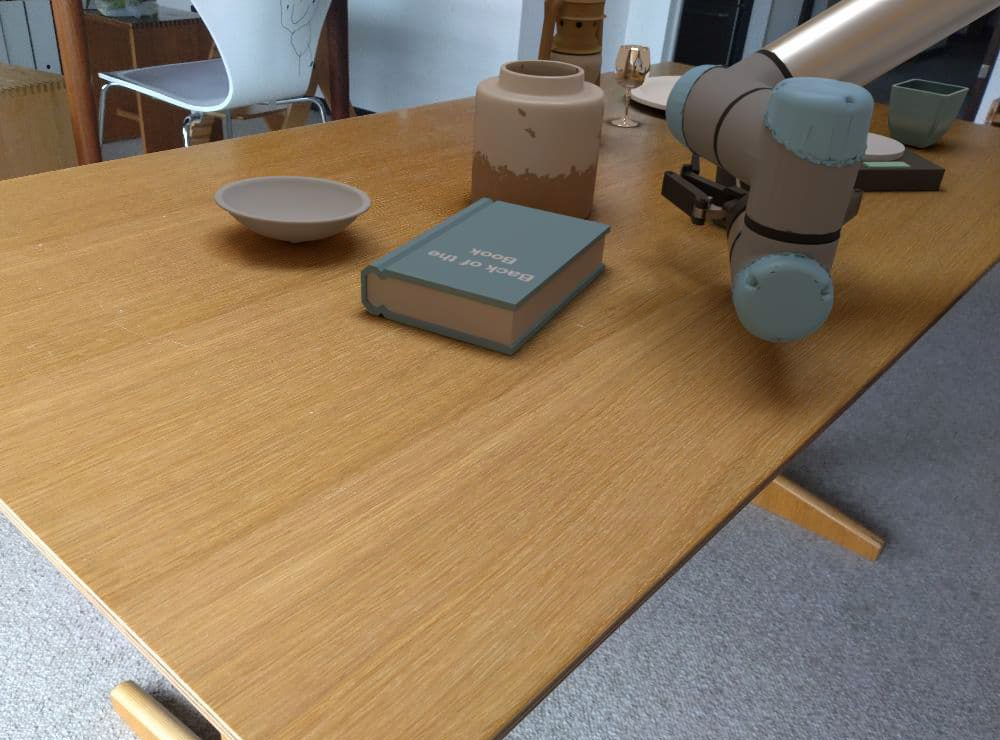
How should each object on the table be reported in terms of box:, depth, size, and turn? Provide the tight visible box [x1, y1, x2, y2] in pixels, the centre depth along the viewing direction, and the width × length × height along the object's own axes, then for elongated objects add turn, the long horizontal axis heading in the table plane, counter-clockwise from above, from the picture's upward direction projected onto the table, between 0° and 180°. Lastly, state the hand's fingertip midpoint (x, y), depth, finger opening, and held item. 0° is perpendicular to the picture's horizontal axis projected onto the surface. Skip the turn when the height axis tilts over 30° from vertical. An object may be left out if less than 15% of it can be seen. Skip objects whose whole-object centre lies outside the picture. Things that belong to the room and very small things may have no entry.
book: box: [360, 198, 611, 356], centre depth 88 cm, size 23×16×5 cm
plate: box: [625, 75, 682, 111], centre depth 159 cm, size 28×28×2 cm
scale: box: [853, 132, 946, 192], centre depth 128 cm, size 18×16×4 cm
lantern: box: [537, 0, 608, 88], centre depth 128 cm, size 15×10×30 cm
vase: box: [470, 59, 606, 220], centre depth 106 cm, size 15×15×17 cm
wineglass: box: [611, 44, 651, 128], centre depth 144 cm, size 6×6×12 cm
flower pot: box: [887, 78, 970, 149], centre depth 140 cm, size 9×9×9 cm
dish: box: [213, 175, 372, 244], centre depth 97 cm, size 18×14×5 cm
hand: (755, 171), depth 99 cm, fingers open, 13 cm apart
